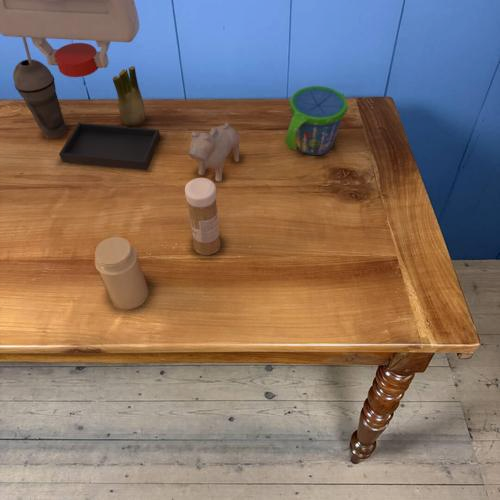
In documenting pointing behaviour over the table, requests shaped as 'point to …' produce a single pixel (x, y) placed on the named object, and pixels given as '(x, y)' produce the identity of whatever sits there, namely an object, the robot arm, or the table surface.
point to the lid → (76, 59)
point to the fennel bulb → (129, 98)
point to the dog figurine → (214, 148)
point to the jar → (121, 273)
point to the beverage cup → (39, 95)
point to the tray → (111, 146)
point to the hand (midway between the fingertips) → (79, 64)
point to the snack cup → (315, 119)
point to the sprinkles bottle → (203, 215)
